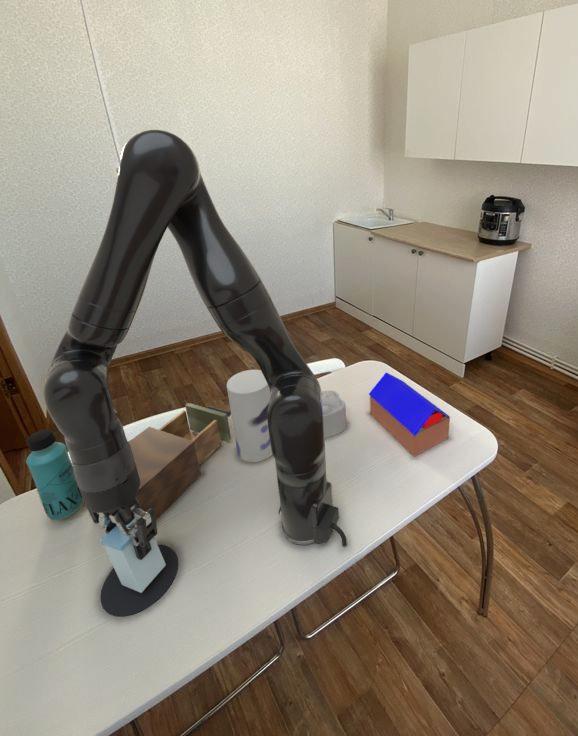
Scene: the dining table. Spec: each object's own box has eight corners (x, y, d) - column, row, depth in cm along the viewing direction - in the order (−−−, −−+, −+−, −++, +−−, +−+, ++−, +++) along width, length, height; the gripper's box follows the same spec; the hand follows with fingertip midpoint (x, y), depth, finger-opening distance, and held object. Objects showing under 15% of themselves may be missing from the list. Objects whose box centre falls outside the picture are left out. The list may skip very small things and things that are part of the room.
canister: (167, 564, 68) (148, 520, 65) (141, 594, 63) (120, 547, 60) (147, 557, 70) (128, 514, 67) (120, 585, 65) (99, 540, 62)
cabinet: (157, 458, 94) (149, 426, 90) (201, 475, 89) (194, 441, 85) (94, 511, 80) (82, 475, 77) (142, 534, 75) (130, 496, 72)
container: (268, 465, 91) (259, 394, 84) (229, 459, 93) (218, 390, 86) (284, 436, 100) (277, 371, 93) (249, 432, 102) (239, 367, 95)
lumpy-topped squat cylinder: (350, 430, 102) (349, 403, 99) (303, 446, 97) (301, 418, 94) (335, 408, 111) (333, 383, 108) (291, 422, 106) (289, 395, 103)
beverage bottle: (42, 530, 76) (9, 450, 69) (57, 502, 82) (28, 427, 75) (79, 521, 78) (50, 443, 71) (92, 495, 84) (66, 421, 77)
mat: (192, 558, 70) (192, 557, 70) (135, 629, 60) (134, 628, 60) (145, 536, 75) (145, 535, 75) (84, 599, 64) (83, 597, 64)
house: (402, 399, 115) (402, 366, 110) (449, 439, 99) (453, 401, 95) (368, 413, 109) (368, 378, 105) (414, 458, 93) (415, 418, 89)
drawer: (205, 417, 107) (200, 393, 104) (241, 428, 102) (238, 404, 100) (147, 466, 90) (140, 439, 88) (187, 481, 86) (181, 453, 83)
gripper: (51, 475, 58) (80, 552, 64) (116, 505, 53) (142, 586, 59) (98, 442, 65) (121, 515, 71) (161, 466, 60) (180, 543, 65)
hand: (131, 547), depth 65 cm, fingers closed on canister, 5 cm apart
